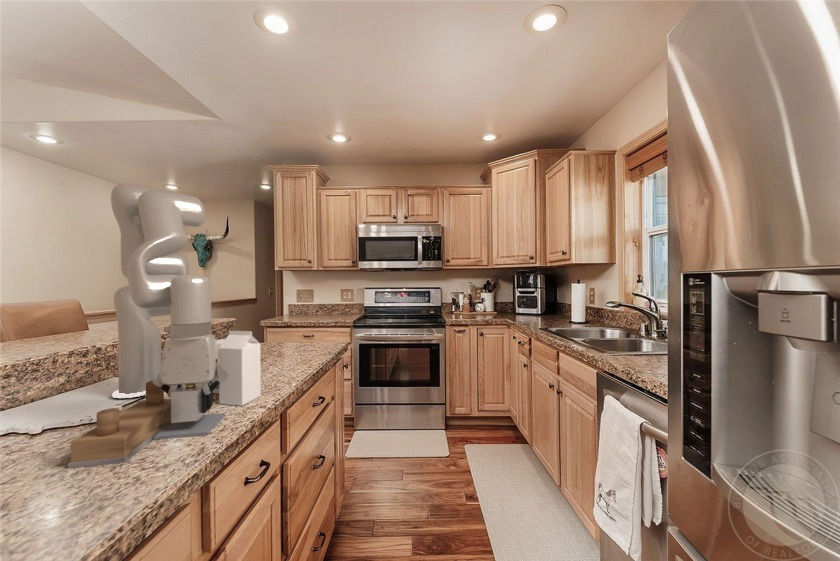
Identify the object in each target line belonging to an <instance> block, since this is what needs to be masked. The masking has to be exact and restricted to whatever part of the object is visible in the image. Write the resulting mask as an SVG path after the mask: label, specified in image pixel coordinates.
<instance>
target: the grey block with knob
mask: <svg viewBox="0 0 840 561" xmlns="http://www.w3.org/2000/svg"><path fill="white" fill-rule="evenodd" d="M203 394H204V391H203V388H202V385H201V383H196V384H182V386H180V387H179V388H177V389H175V390H174V391H172V392H171V397H170V398H171V423H177V422H188V421H198V420H199V419H200V418H201V417H202V416H203V415H206V413H202V395H203ZM211 408H212V407H211ZM211 408H210V409H211ZM210 409H209V410H208V411H207V412H209V411H210Z"/></svg>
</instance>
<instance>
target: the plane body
mask: <svg viewBox="0 0 840 561" xmlns="http://www.w3.org/2000/svg"><path fill="white" fill-rule="evenodd" d="M153 381H154V380H151V381H149V382H147V383H146V396H145V399H142V400H140V401H138V402H137V403H135V404H133V405H131V406H130V407H128V408H127V409H125V410H123V411H121V412H120V409H119V408H117V407H113V408H106V409H104V410H100V411H98V412H96V427H94V428H92V429H91V430H89V431H87V432H86V433H83V434H82V435H80V436H78V437H77V438H75V439H73V440H71V442H70V462H68V463H67V469H76V468H83V467H93V466H103V465H112V464H121V463H126V462H127V461H129V460H130V459H132V457H133V456H135V455H136V454H137V453H138V452H140V451H141V450H142V449H143V448H145V447H146V446H147V445H148V444H149V443H151V442H152V441H153V437H154V436H155V435H157V434H158V433H159V432H160V431H162V430H163V429H164V428H165V427H166V426H168V425H169V424H170V423H171V397H168V398H164V397H165V396H164V395H165V394H164V393H165V392H164V391H163V390H162V389H161V388H160V387H158V386H156V385H155V384H153Z"/></svg>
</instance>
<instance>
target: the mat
mask: <svg viewBox="0 0 840 561" xmlns="http://www.w3.org/2000/svg"><path fill="white" fill-rule="evenodd" d="M225 416H226V413H225V412H222V413H221V412H220V413H210V414H204V415H203V416H202V417H201V418H200V419H199V420H198V421H188V422H177V423H170V424H169V425H168V426H166V427H165V428H164V429H163V430H162V431H160V432H159V433H158V434H157V435H155V436H154V437H153V440H154V441H157V440H166V439H167V440H168V439H176V438H177V439H178V438H186V437H198V436H207V435H209V434H210V433H211V432H212V431H213V429H214V428H215V427H216V426H217V425H218V424H219V423H220V422H221V421H222V420H223V418H225ZM153 440H152V441H153Z"/></svg>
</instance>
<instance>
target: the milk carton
mask: <svg viewBox="0 0 840 561" xmlns="http://www.w3.org/2000/svg"><path fill="white" fill-rule="evenodd" d="M224 339H225V340H224V342H223V343H222V344H221V346H220V347H219V365H220V366H221V367H222V368H223V369H224V370H225V371H226V373H227V374H228V375H229V377H228V378H227V379H226V380H224V381H223V382H222V383H221V384H220V385H219V394H218V395H219V396H218V397H219V398H218V399H219V404H220V405H228V406H229V405H231V406H244V405H246V404H249V403H251V402H252V401H254V400H256V399H258V398H260V397H261V396H262V394H261V393H262V392H261V391H262V390H261V388H262V386H261V383H262V381H261V380H262V378H261V375H262V374H261V343H260V342H259V341H258V340H257V339H256V338H255V337H254V336H253V332H252V331H249V330H228V335H227V337H226V338H224Z"/></svg>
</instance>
